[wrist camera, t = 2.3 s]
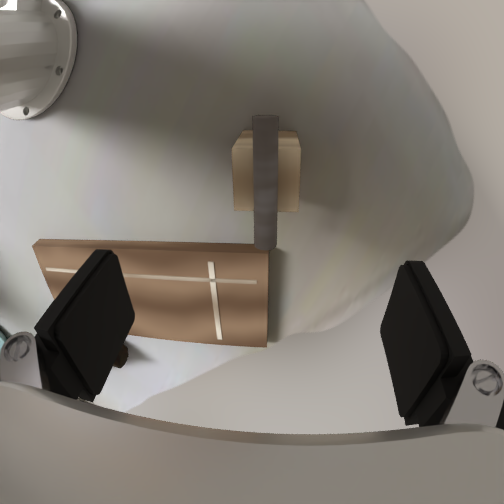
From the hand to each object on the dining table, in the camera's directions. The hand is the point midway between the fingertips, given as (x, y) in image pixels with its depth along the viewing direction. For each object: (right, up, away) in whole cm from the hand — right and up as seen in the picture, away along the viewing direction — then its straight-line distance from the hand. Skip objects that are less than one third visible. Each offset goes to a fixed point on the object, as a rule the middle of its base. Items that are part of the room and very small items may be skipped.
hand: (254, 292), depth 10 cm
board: (-11, -3, +22) cm, 25 cm away
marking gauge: (+1, +9, +13) cm, 16 cm away
